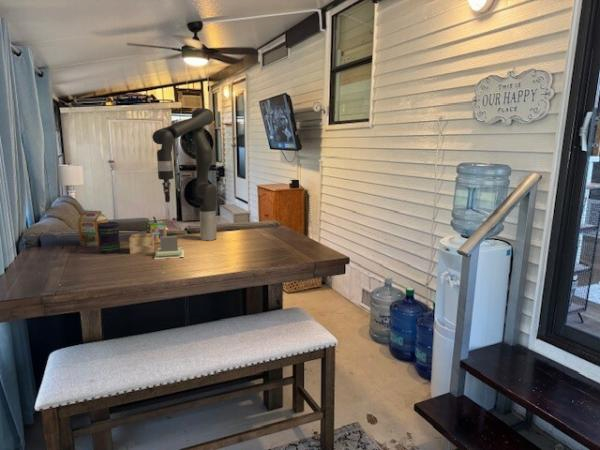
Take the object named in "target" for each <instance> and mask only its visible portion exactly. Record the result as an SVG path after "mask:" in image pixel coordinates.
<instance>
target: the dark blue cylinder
mask: <svg viewBox="0 0 600 450" xmlns="http://www.w3.org/2000/svg"><path fill="white" fill-rule="evenodd" d="M119 234H120V228H119V222H117V221H108V222H104V223H99V224H98V235H99V247H98V248H99V254H100V255H113V254H118V253H120V252H121V242H120V238H119V237H120V235H119Z"/></svg>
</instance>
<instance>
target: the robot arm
mask: <svg viewBox="0 0 600 450" xmlns="http://www.w3.org/2000/svg"><path fill="white" fill-rule="evenodd" d="M214 118H215V115H214V113H213V111H212V110H211V109H209V108H196V109H193V111H192V113H191V117H190V118H186V119H183V120H180V121H176V122H175V123H172V124H171V125H169V126H166V127H163V128H160V129H157V130H155V131H154V132H153V133H152V137H151V138H152V141H153V142H154V143H155V144H156V145H161V147H160V149H158V150H157V151H156V157H157V158H156V161H157V163H156V164H157V175H158V177H157V178H158V180H163V182H162V183H161V186H162V190H163V194H164V201H165V203H170V202H171V197H170V195H171V194H170V193H171V182H170V180H173V179H174V164H173V158H172V151H173V145H174V139H178V138H180V137H182V136H184V135H185V134H187V133H190V132H192V131H193V137H194V138H193V139H194V148H195V149H194V150H195V163H196V165H195V166H196V169H195V170H196V182H195V183H196V187H195V188H196V189H195V190H196V195H197V197H198V198H200V199H203V204H201V205H200V206H199V228H200V229H199V231H200V236H199V237H200V240H201V241H206V240H209V241H215V240H214V239H217V238H218V237H217V236H218V235H217V214H216V213H217V212H216V211H217V209H216V207H217V204H218V190H217V187H216V185H215V184H212V183H209V171H210V169H211V166H212V163H213V151H212V146H211V145H210V142H209V140H208V139H207V137H206V134H205V126H209V125H211V124H212V123H213V122H214Z"/></svg>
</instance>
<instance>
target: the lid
mask: <svg viewBox="0 0 600 450" xmlns="http://www.w3.org/2000/svg"><path fill="white" fill-rule="evenodd" d="M160 242H161V243H160V247H158V248H157V249H156V252H157V253H156V252H155V254H156V256H161V257H164V256H178V255H182V250H183V247H182V246H179V245H178V236H177V235H167V236H164V237H160Z"/></svg>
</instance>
